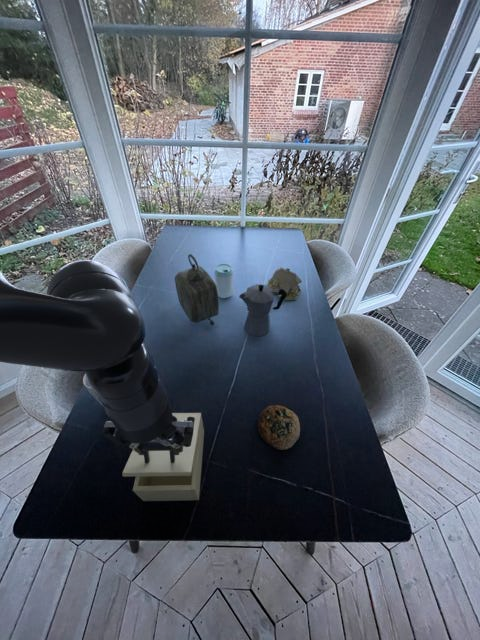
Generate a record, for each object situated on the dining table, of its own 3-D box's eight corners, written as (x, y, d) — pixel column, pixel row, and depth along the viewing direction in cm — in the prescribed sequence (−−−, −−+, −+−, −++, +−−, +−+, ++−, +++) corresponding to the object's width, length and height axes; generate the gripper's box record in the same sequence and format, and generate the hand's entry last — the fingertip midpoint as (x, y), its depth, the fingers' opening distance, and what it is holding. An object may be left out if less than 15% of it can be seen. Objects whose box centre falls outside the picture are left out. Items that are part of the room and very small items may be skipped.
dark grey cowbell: (219, 326, 92) (216, 264, 74) (195, 335, 88) (186, 273, 71) (202, 302, 100) (195, 241, 83) (179, 310, 97) (167, 249, 79)
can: (235, 290, 106) (236, 265, 97) (228, 301, 101) (228, 275, 93) (219, 286, 107) (218, 260, 99) (212, 296, 103) (210, 270, 94)
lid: (191, 475, 45) (189, 451, 43) (122, 476, 45) (118, 451, 43) (201, 415, 60) (200, 395, 58) (149, 416, 59) (147, 395, 58)
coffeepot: (241, 339, 88) (242, 298, 75) (235, 319, 94) (236, 278, 81) (285, 333, 90) (294, 292, 77) (277, 314, 96) (284, 273, 84)
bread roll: (249, 416, 69) (252, 407, 65) (284, 403, 73) (290, 394, 70) (269, 459, 62) (274, 451, 59) (307, 442, 66) (314, 433, 63)
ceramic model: (306, 290, 107) (311, 269, 100) (291, 304, 101) (296, 283, 94) (276, 276, 113) (279, 256, 106) (261, 289, 107) (263, 268, 100)
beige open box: (198, 500, 56) (194, 489, 50) (143, 501, 56) (132, 490, 49) (204, 430, 66) (201, 415, 60) (157, 431, 66) (149, 415, 60)
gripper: (71, 430, 33) (113, 472, 44) (188, 430, 33) (199, 472, 45) (94, 378, 38) (126, 428, 50) (195, 379, 38) (202, 428, 50)
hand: (160, 449), depth 47 cm, fingers closed on lid, 5 cm apart
